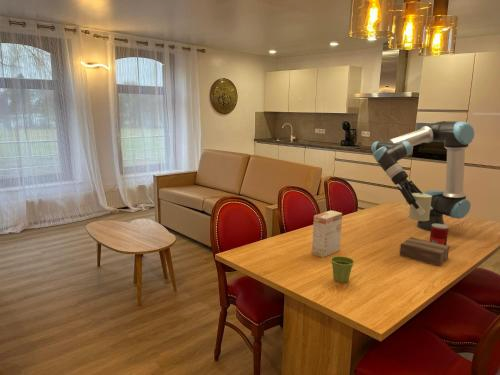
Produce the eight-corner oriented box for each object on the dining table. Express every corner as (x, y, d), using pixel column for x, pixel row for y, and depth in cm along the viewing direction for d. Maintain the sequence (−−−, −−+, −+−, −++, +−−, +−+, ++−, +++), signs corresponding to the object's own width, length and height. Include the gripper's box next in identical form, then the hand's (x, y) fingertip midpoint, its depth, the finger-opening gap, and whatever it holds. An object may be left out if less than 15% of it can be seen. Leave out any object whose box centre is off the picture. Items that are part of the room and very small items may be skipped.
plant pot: (326, 275, 158) (327, 256, 156) (348, 274, 158) (349, 255, 157) (333, 285, 148) (334, 265, 147) (356, 284, 149) (357, 264, 147)
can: (428, 216, 182) (431, 193, 179) (430, 222, 173) (433, 197, 171) (407, 214, 185) (410, 191, 182) (408, 219, 176) (411, 195, 174)
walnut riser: (409, 248, 192) (411, 237, 190) (447, 257, 180) (449, 246, 178) (399, 255, 181) (400, 243, 180) (439, 266, 170) (440, 253, 168)
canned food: (447, 248, 192) (450, 228, 190) (431, 247, 194) (433, 227, 191) (443, 243, 199) (446, 224, 197) (427, 242, 201) (430, 222, 199)
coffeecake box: (328, 246, 192) (330, 210, 188) (340, 250, 187) (343, 212, 183) (310, 253, 181) (313, 215, 177) (323, 258, 176) (325, 218, 172)
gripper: (400, 176, 193) (428, 212, 186) (381, 181, 178) (411, 220, 171) (411, 167, 189) (440, 203, 181) (393, 172, 173) (425, 211, 166)
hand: (426, 212), depth 176 cm, fingers closed on can, 9 cm apart
